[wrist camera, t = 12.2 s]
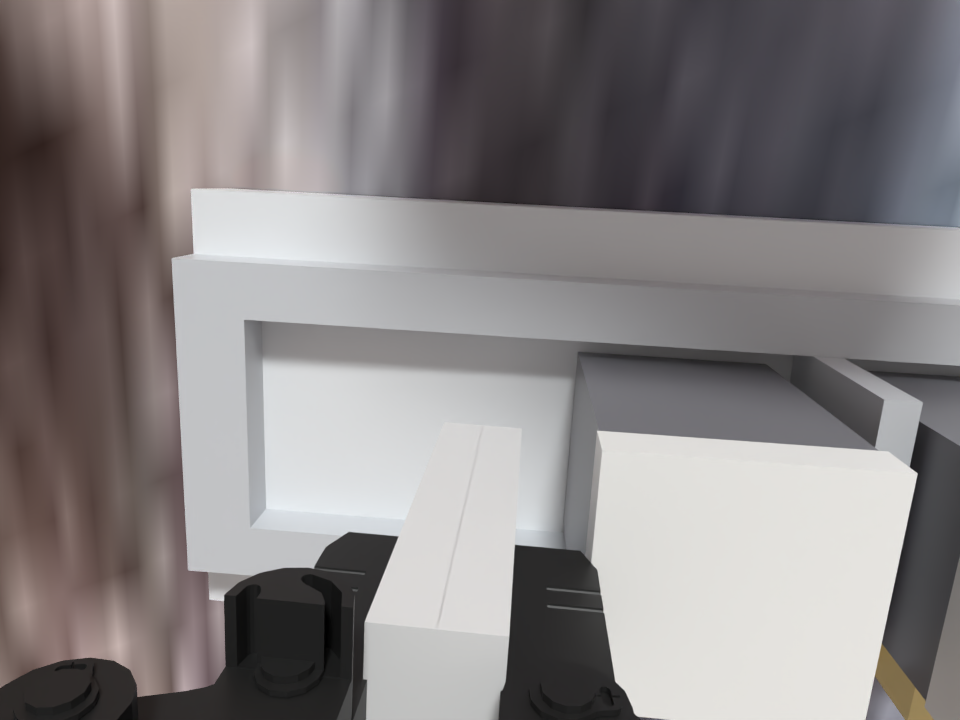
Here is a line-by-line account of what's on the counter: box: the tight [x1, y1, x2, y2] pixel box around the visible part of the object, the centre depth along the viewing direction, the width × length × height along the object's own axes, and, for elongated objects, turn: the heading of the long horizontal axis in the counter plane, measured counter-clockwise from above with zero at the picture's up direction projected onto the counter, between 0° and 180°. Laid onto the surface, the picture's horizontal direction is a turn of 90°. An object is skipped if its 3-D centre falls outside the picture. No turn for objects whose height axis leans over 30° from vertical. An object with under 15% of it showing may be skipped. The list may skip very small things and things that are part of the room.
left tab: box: [563, 352, 918, 720], centre depth 13 cm, size 4×4×6 cm
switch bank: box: [172, 188, 960, 720], centre depth 15 cm, size 27×10×6 cm, turn 87°
